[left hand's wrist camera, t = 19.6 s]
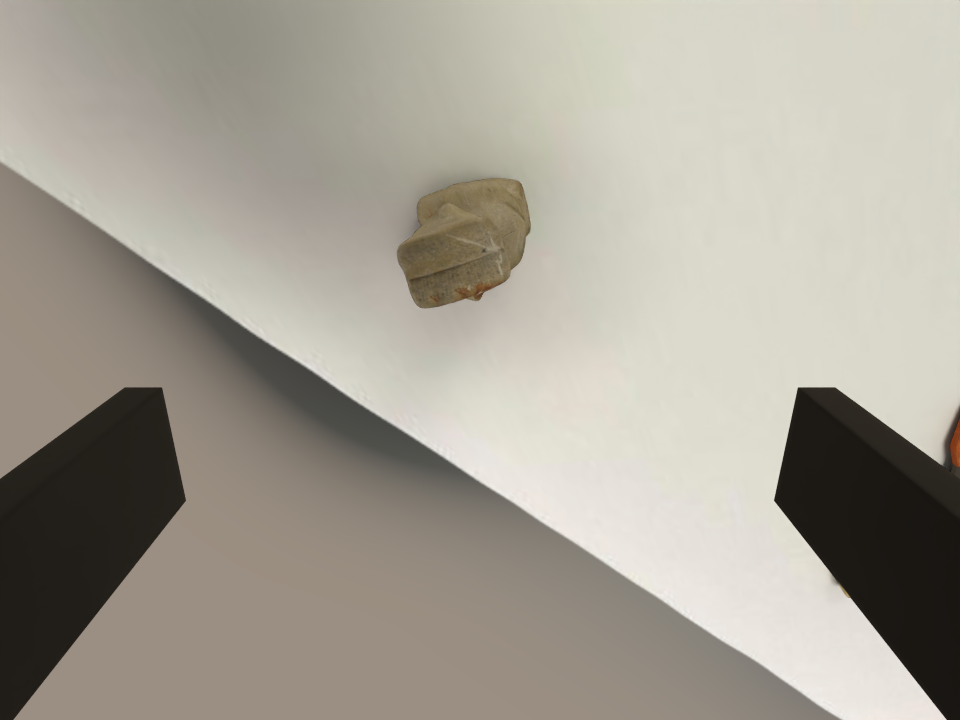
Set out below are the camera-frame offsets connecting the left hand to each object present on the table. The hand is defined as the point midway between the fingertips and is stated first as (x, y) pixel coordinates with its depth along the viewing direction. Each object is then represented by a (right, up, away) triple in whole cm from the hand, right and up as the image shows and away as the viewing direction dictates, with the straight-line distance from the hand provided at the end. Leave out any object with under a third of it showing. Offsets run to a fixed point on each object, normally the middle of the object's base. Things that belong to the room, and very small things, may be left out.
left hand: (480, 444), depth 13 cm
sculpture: (0, +12, +29) cm, 31 cm away
